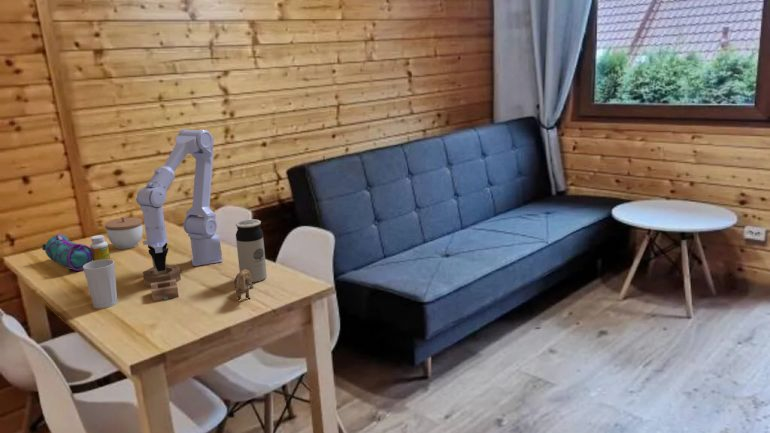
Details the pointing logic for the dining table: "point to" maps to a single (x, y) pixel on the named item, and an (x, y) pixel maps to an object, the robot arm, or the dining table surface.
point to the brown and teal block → (157, 270)
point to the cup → (101, 282)
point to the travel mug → (251, 248)
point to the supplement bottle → (99, 248)
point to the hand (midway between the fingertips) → (161, 268)
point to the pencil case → (68, 252)
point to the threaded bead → (164, 290)
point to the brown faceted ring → (171, 274)
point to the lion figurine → (243, 283)
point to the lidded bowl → (125, 232)
